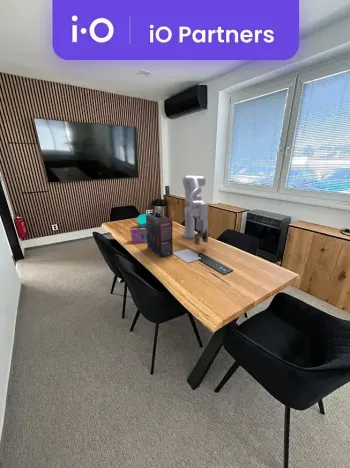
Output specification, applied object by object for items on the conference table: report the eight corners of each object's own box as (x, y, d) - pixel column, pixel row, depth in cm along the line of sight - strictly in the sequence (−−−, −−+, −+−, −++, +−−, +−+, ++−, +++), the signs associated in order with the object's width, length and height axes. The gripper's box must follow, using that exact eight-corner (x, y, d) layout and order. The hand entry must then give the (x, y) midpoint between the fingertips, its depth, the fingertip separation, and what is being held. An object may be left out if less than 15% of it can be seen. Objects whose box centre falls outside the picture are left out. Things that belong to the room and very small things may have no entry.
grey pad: (172, 253, 168) (172, 252, 168) (187, 249, 176) (187, 248, 176) (187, 263, 151) (187, 262, 151) (203, 258, 160) (203, 257, 160)
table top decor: (133, 226, 242) (132, 215, 237) (154, 223, 255) (154, 212, 251) (146, 235, 209) (145, 223, 205) (169, 231, 223) (169, 220, 218)
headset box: (146, 247, 180) (145, 210, 169) (159, 244, 186) (158, 209, 175) (159, 258, 160) (159, 217, 149) (173, 254, 166) (173, 215, 156)
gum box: (130, 243, 189) (129, 229, 184) (130, 240, 196) (129, 227, 192) (156, 241, 194) (156, 227, 190) (155, 238, 202) (154, 225, 197)
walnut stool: (194, 243, 173) (194, 234, 170) (203, 240, 179) (204, 231, 176) (198, 245, 169) (198, 236, 166) (208, 242, 175) (208, 233, 172)
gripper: (192, 215, 171) (191, 235, 177) (206, 220, 158) (204, 242, 164) (199, 214, 175) (198, 234, 181) (213, 219, 161) (211, 240, 168)
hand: (201, 237), depth 172 cm, fingers closed on walnut stool, 5 cm apart
